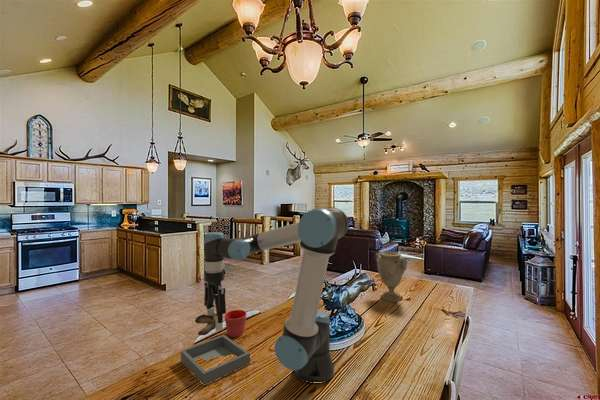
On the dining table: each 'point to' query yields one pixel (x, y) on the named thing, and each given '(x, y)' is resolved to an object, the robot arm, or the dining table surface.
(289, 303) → the dining table surface
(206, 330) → the eagle figurine
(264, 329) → the dining table surface
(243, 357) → the tray
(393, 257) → the urn
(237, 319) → the flower pot
